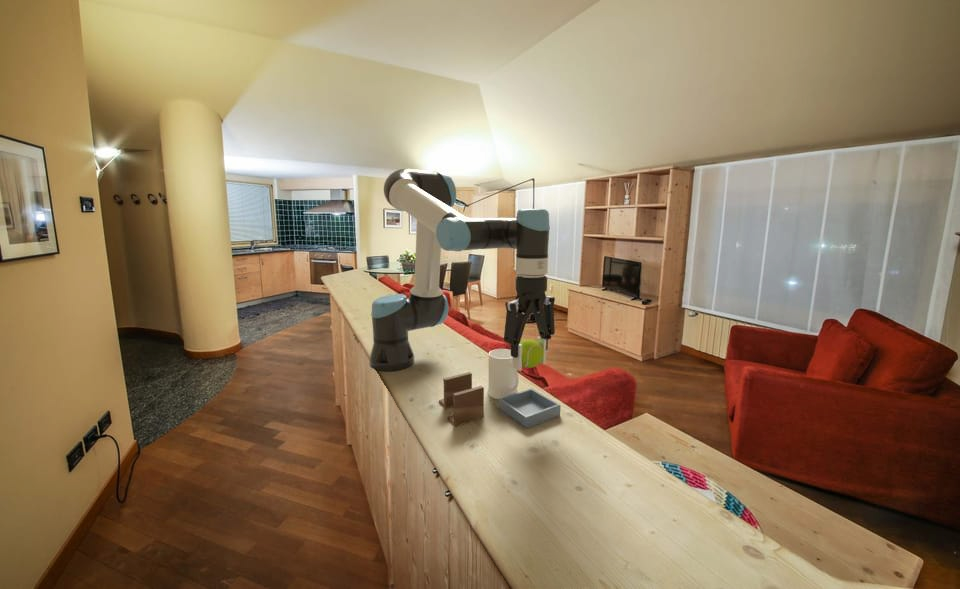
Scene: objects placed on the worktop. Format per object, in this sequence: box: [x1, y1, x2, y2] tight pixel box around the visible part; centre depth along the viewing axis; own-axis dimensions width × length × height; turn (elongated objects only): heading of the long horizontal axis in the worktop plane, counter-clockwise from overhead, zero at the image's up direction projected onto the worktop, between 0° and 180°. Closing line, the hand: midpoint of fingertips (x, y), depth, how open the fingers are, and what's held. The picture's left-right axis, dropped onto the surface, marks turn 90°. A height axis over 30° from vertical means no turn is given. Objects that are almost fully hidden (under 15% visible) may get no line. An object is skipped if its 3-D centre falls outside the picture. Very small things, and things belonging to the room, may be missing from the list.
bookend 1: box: [438, 371, 473, 409], centre depth 102 cm, size 4×8×8 cm, turn 123°
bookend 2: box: [447, 385, 485, 427], centre depth 93 cm, size 4×8×8 cm, turn 123°
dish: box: [497, 388, 561, 430], centre depth 96 cm, size 11×11×3 cm
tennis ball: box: [520, 338, 544, 369], centre depth 93 cm, size 7×7×7 cm
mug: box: [487, 348, 520, 400], centre depth 105 cm, size 12×8×12 cm
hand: (529, 365), depth 94 cm, fingers closed on tennis ball, 7 cm apart
